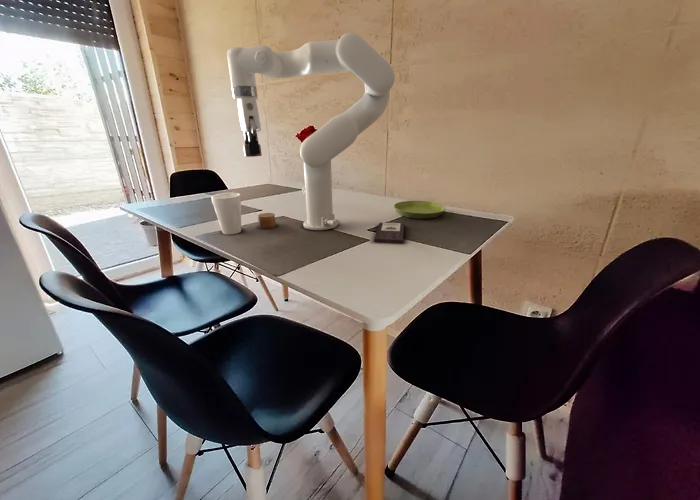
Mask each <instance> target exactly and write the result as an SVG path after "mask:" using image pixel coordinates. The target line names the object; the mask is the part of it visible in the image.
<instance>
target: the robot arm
mask: <svg viewBox="0 0 700 500" xmlns="http://www.w3.org/2000/svg"><path fill="white" fill-rule="evenodd" d="M226 60H227V65H228V71H229V78H230V85H231V86H230V87H231V93H232V100H236V101H237V102H236V103H237V111H238V119H239V125H240V130H241V131H242V132H243V137H244V145H249V152H250V154H260V150H259V144H260V142H259V137H258V133H259V132H261V130H262V128H261V127H262V125H261V121H260V120H261V119H260V115H259V114H260V113H259V108H258V103H257V100H258V99H259V98H258V97H259V95H258V87H257V81H256V74H259V75H262V76H263V77H265V78H268V79H286V78H294V77H295V78H296V77H302V76H303V77H304V76H310V75H317V74H318V75H319V74H330V73H331V74H332V73H341V72H342V73H343V72H351V73H352V74H353V75H354V76H356V77H357V79H359V81H361V82H362V83H363V85H364V93H363V95H362V97H361V98H360V99H358V100H357V101H356V102H355V103H354V104H352V105H351V106H350V107H349V108H348V109H346V110H345V111H343V112H342V113H340V114H337V115H335V116H333V117H332V118H331V119H330V120H328V121H327V122H326V123H324V125H322V126H320V127H319V128H318V129H317V130H316V131H314V132H313V133H311V134H310V135H308V136H307V137H306V138H305V139H304V140H303V141H302V143H301V145H300V146H299V156H300V158H301V160H302V162H303V176H304V193H305V206H306V209H305V210H306V220H305V221H304V222H303V223H302V225H303V228H304V229H307V230H310V231H326V230H331V229H334V228H337V226H338V224H339V219H338V218H335V214H334V209H333V208H334V207H333V178H332V160H334V158H336V157H337V156H339V154H341V153H342V152H344V151H345V150H346V149H348V148H349V147H350V146H351V145H352V144H353V143H355V141H357V137H358V136H359V135H360V134H362V133H363V132H364V131H366V130H367V129H368V128H369V127H370V126H372V125H373V124H374V123H375V122H376V121H378V120H379V119H380V117H381V116H383V114H384V112H385V111H386V108H387V106H388V103H389V98H390V90H392V88H393V86H394V84H395V80H396V75H395V74H396V73H395V71H394V68H393V67H392V65H391V64H390V63H389V62H388V60H386V58H384V57H383V56H382V55H381V54H380V53H379V52H378V51H377V50H375V48H374V47H373V46H371V45H370V43H368V42H367V41H366V40H365V39H364V38H363V37H362V36H361V35H359V34H357V33H355V32H346V33H344V34H342V35H341V36H340V37H339V38H338V39H330V40H316V41H313V40H312V41H308V42H306V43H304V44H303V45H301V46H300V47H298V48H295V49H292V50H288V51H287V50H285V51H274V50H273V49H272V48H271V47H269V46H267V45H263V44H260V45H254V46H249V47H240V46H234V47H230V48H228V49H227V51H226Z"/></svg>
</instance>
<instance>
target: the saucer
mask: <svg viewBox="0 0 700 500" xmlns="http://www.w3.org/2000/svg"><path fill="white" fill-rule="evenodd" d="M393 207H394V209H395V211H396V212H397V214H399V215H400V216H402V217H406V218H409V219H410V218H411V219H417V220H427V219H428V220H429V219H434V218H437V217H439V216H440V215H442V214H443V213H444V212H445V210H446V207H445V206H444V205H443V204H441V203H438V202H433V201H429V200H426V201H425V200H403V201H399V202H396V203H395V204H394V205H393Z"/></svg>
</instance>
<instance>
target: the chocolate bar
mask: <svg viewBox="0 0 700 500" xmlns="http://www.w3.org/2000/svg"><path fill="white" fill-rule="evenodd" d="M404 232H405V222H404V223H402V222H401V223H400V222H399V223H398V222H378V227H377V229H376V232H375V236H374V238H373V241H374V243H387V244H388V243H390V244H404Z"/></svg>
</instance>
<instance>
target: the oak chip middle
mask: <svg viewBox="0 0 700 500" xmlns="http://www.w3.org/2000/svg"><path fill="white" fill-rule="evenodd" d="M257 221H258V223H259V222H260V223H270V222H273V221H275V222H276V214H275V213H273V212H263V213H259V214H258V215H257Z"/></svg>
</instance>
